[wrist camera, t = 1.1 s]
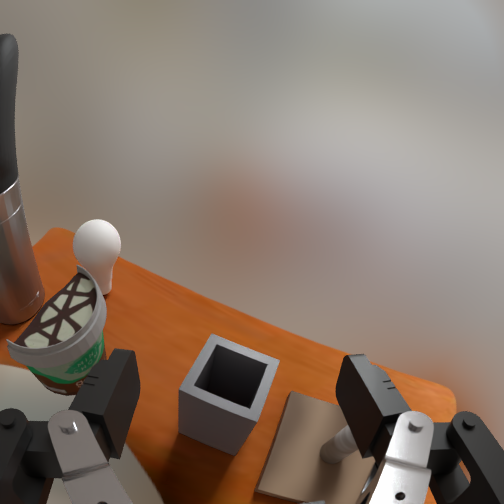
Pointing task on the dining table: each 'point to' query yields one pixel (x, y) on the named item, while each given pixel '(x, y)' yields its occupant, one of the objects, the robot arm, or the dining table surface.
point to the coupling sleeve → (224, 394)
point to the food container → (65, 336)
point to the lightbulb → (97, 251)
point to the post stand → (313, 455)
